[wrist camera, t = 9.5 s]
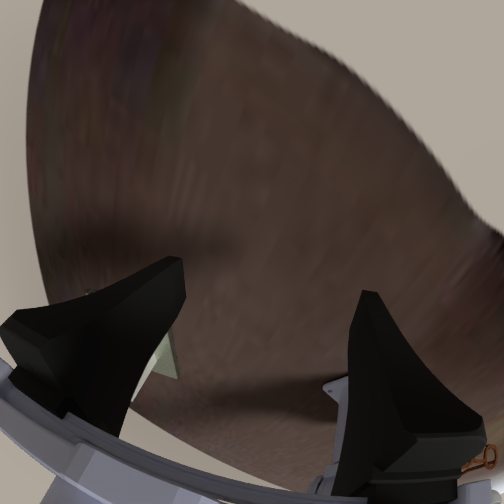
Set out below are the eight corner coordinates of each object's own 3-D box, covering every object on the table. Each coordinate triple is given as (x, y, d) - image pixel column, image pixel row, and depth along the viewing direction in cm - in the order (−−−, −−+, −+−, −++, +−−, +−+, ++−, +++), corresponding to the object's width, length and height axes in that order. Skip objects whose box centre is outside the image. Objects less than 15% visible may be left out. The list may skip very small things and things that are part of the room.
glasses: (497, 443, 30) (501, 466, 26) (445, 472, 37) (445, 494, 33) (458, 436, 30) (461, 464, 26) (400, 467, 37) (399, 492, 33)
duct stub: (168, 311, 28) (147, 342, 24) (180, 374, 33) (165, 402, 29) (89, 288, 30) (66, 312, 26) (111, 350, 35) (94, 373, 31)
